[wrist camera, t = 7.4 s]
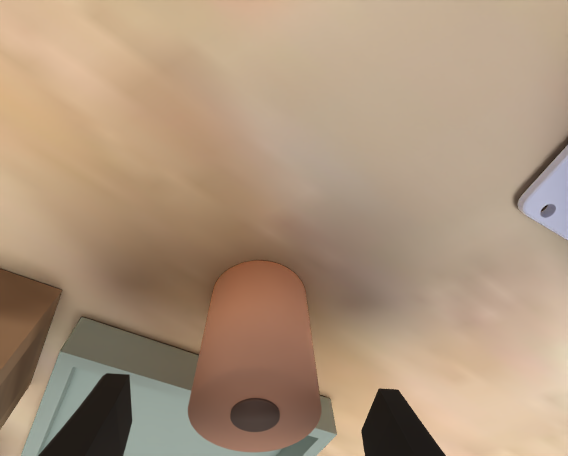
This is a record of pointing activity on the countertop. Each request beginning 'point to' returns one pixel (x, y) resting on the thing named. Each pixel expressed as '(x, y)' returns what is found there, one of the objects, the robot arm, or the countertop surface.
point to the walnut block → (21, 334)
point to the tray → (142, 395)
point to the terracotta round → (256, 362)
